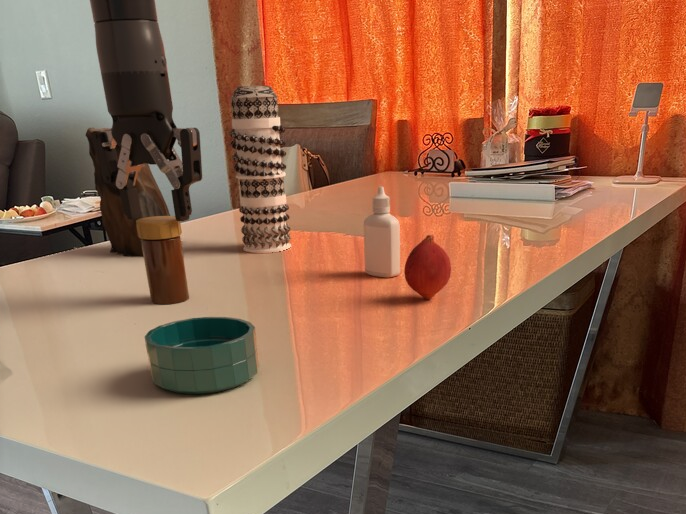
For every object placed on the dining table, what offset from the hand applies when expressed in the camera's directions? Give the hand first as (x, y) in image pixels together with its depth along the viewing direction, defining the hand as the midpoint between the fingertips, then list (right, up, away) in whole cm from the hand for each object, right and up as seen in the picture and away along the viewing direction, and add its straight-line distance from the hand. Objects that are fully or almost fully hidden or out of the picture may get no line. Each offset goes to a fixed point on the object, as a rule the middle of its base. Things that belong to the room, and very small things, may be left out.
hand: (159, 219), depth 91 cm
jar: (0, -9, +5) cm, 10 cm away
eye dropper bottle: (+29, -3, +14) cm, 32 cm away
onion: (+34, -10, +1) cm, 36 cm away
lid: (0, 0, 0) cm, 0 cm away
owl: (-13, +8, +37) cm, 40 cm away
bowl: (+11, -23, -22) cm, 34 cm away
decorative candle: (+9, +8, +35) cm, 37 cm away
